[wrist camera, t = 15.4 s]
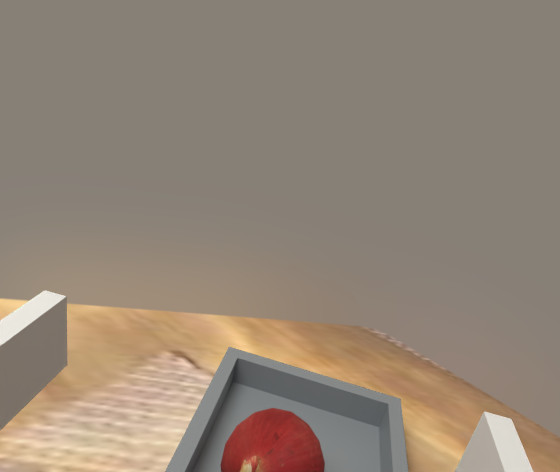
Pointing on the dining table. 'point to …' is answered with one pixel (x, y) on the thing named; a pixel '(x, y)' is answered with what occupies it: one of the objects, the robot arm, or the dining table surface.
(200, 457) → the tray
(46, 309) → the robot arm
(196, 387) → the dining table surface
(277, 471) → the onion
